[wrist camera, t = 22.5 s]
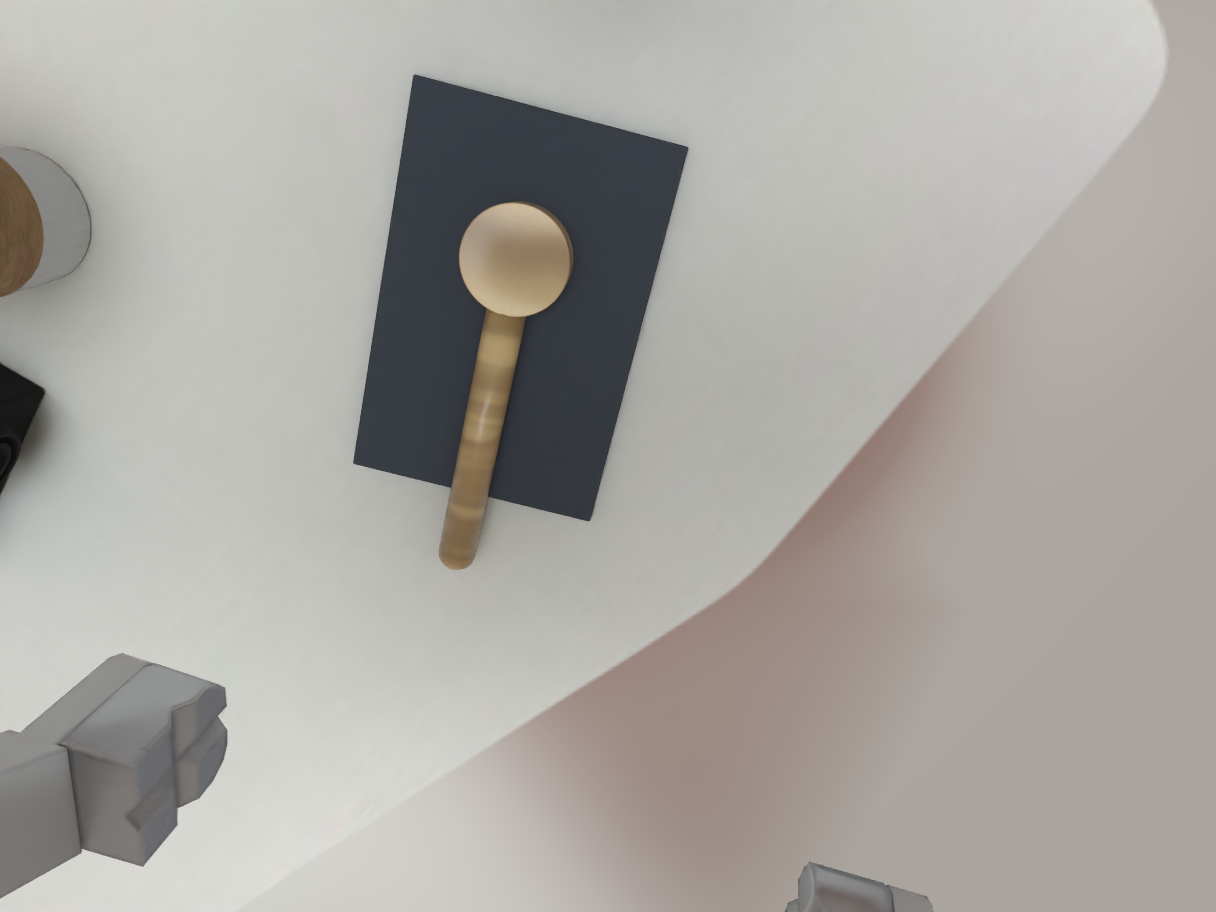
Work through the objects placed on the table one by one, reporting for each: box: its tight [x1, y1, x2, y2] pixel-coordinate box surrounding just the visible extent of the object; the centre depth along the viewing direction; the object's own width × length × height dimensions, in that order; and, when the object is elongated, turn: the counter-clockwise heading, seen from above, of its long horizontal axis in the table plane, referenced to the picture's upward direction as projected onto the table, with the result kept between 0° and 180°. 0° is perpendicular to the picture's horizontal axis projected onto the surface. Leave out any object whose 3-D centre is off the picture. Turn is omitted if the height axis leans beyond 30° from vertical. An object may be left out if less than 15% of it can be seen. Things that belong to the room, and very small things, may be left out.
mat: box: [353, 75, 688, 521], centre depth 38 cm, size 18×12×1 cm, turn 166°
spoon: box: [439, 201, 574, 570], centre depth 38 cm, size 18×5×2 cm, turn 166°
